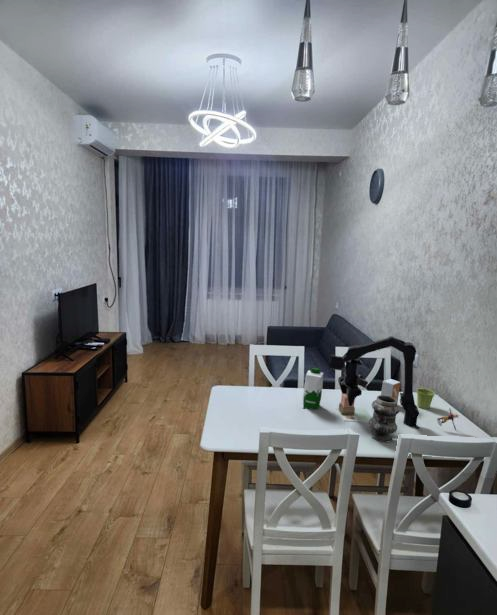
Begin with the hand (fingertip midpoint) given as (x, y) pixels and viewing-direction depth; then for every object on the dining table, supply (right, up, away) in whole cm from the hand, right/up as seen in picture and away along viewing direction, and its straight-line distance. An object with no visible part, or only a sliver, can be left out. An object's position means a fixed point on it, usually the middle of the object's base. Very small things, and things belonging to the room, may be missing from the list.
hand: (347, 402), depth 206 cm
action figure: (+44, -11, -8) cm, 46 cm away
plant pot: (+45, -7, +19) cm, 50 cm away
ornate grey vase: (+10, -11, -21) cm, 26 cm away
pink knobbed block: (0, -2, 0) cm, 2 cm away
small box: (+26, -6, +18) cm, 32 cm away
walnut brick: (0, -6, +1) cm, 6 cm away
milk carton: (-17, -4, +7) cm, 19 cm away
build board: (+4, -7, -1) cm, 8 cm away
